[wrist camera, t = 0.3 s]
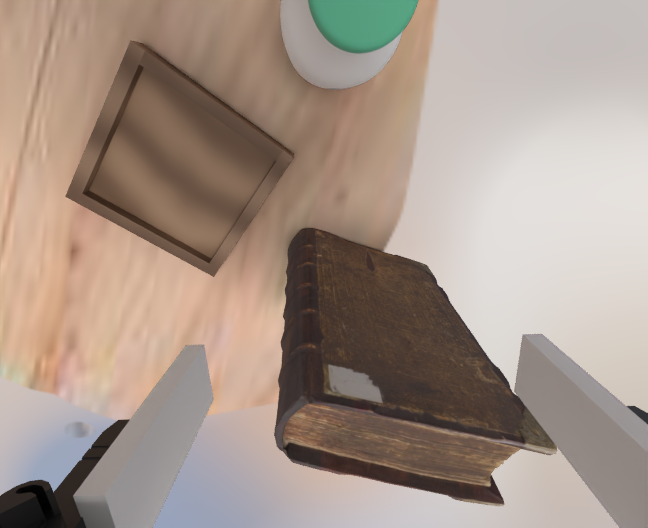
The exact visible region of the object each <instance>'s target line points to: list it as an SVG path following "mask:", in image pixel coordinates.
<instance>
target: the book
mask: <svg viewBox="0 0 648 528" xmlns="http://www.w3.org/2000/svg"><path fill="white" fill-rule="evenodd" d="M286 274H287V285H286V288H285V294H286V305H285V309H284V314H283V318H284V320H285V327H284V333H283V336H282V339H281V347H282V350H283V352H282V368H281V370H280V375H279V379H278V383H279V387H280V391H279V401H278V411H277V420H276V427H275V433H274V436H275V439H276V444H277V447H278V448H279V449H280V450H281V451H283V452H284V453H285V454H286V456H287V457H288V458H289V459H290V460H291V461H292V462H293V463H296V464H300V465H303V466H308V467H311V468H315V469H319V470H324V471H329V472H332V473H336V474H344V475H354V476H359V477H363V478H368V479H372V480H376V481H381V482H384V483H389V484H394V485H399V486H404V487H409V488H414V489H419V490H425V491H430V492H434V493H439V494H443V495H448V496H449V497H452V498H453V499H455V500H460V501H465V502H472V503H479V504H485V505H495V506H503V505H504V501H503V498H502V496H501V494H500V492H499V490H498V488H497V486H496V484H495V482H494V480H493V478H492V475H491V473H492V472H493V471H494V469H495V468H497V467H499V466H500V465H501V464H503V461H504V460H507V459H508V458H509V457H510V456H511V455H512V454H514V453H515V452H517V451H519V450H520V449H525V450H529V451H533V452H538V453H542V454H546V455H552V454H556V452H557V446H556V445H555V443H554V442H553V441H552V439H551V438H550V437H549V436H548V434H547V433H546V432H545V430H544V429H543V428H542V427H541V425H540V424H539V423H538V421H537V420H536V419H535V417H534V416H533V415H532V414H531V412H530V411H529V410H528V408H527V407H526V406H525V405H524V403H523V402H522V401H521V399H520V398H519V397H518V396H516V395H515V394H514V393H513V392H512V390H511V389H510V385H509V382H508V381H507V379H506V378H505V376H504V375H503V373H502V372H501V371H500V369H499V368H498V367H496V366H495V365H494V364H493V363H492V362H491V360H490V359H489V358H488V356H487V355H486V353H485V352H484V351H483V349H482V348H481V346H480V345H479V343H478V342H477V340H476V339H475V337H474V336H473V335H472V333H471V332H470V330H469V329H468V328H467V326H466V325H465V323H464V321H463V320H462V319H461V317H460V316H459V314H458V313H457V312H456V310H455V309H454V307H453V306H452V304H451V303H450V301H449V299H448V296H447V294H446V293H445V291H443V289H442V288H441V287H439V286H438V285H437V281H436V278H435V277H434V275H433V274H432V272H431V271H430V269H429V268H428V266H427V265H425V264H422V263H420V262H417V261H413V260H411V259H407V258H404V257H401V256H398V255H392V254H388V253H385V252H381V251H377V250H374V249H370V248H367V247H364V246H361V245H358V244H355V243H352V242H349V241H346V240H343V239H341V238H339V237H338V236H336V235H333V234H330V233H328V232H325V231H321V230H317V229H313V228H311V229H303V230H301V231H300V232H299V233H298V234H297V235H296V237H295V238H294V239H293V241H292V243H291V244H290V247H289V249H288V266H287V271H286Z"/></svg>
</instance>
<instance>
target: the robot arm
mask: <svg viewBox="0 0 648 528" xmlns="http://www.w3.org/2000/svg"><path fill="white" fill-rule="evenodd" d="M514 391H515V393H516V394H517V395H518V397H519V398H520V399H521V401H522V402H523V403H524V404H525V406H526V407H527V408H528V410H529V411H530V412H531V414H532V415H533V416H534V417H535V419H536V420H537V421H538V423H539V424H540V425H541V427H542V428H543V429H544V430H545V432H546V433H547V434H548V436H549V437H550V438H551V439H552V441H553V442H554V443H555V445H556V446H557V447H558V449H559V450H560V451H561V452H562V454H563V455H564V456H565V458H566V459H567V460H568V461H569V463H570V464H571V465H572V467H573V468H574V469H575V471H576V472H577V473H578V474H579V476H580V477H581V478H582V480H583V481H584V482H585V484H586V485H587V486H588V487H589V489H590V490H591V491H592V493H593V494H594V495H595V496H596V498H597V499H598V500H599V502H600V503H601V504H602V506H603V507H604V508H605V509H606V510H607V512H608V513H609V515H610V516H611V517H612V518H613V520H614V521H615V522H616V524H617V525H618V526H619V528H648V413H646V412H644V411H642V410H640V409H639V408H637V407H635V406H625V405H624V404H623V403H622V402H621V401H620V400H618V399H617V398H616V397H615V396H614V395H613V394H611V393H610V392H609V391H608V390H607V389H606V388H604V387H603V386H602V385H601V384H600V383H598V382H597V381H596V380H595V379H594V378H593V377H592V376H590V375H589V374H588V373H587V372H586V371H584V370H583V369H582V368H581V367H580V366H579V365H577V364H576V363H575V362H574V361H573V360H572V359H571V358H569V357H568V356H567V355H566V354H565V353H563V352H562V351H561V350H560V349H559V348H558V347H557V346H555V345H554V344H553V343H552V342H551V341H549V340H548V339H547V338H546V337H545V336H544V335H543V334H525V335H523V336H522V343H521V350H520V357H519V363H518V370H517V376H516V383H515V390H514ZM212 401H213V393H212V387H211V382H210V376H209V370H208V364H207V359H206V353H205V347H204V345H186V346H185V347H184V348H183V350H182V351H181V352H180V354H179V355H178V357H177V358H176V359H175V361H174V362H173V363H172V365H171V366H170V367H169V369H168V370H167V371H166V373H165V374H164V375H163V377H162V378H161V379H160V381H159V382H158V383H157V385H156V386H155V387H154V389H153V390H152V391H151V393H150V394H149V395H148V397H147V398H146V399H145V401H144V402H143V403H142V405H141V406H140V407H139V409H138V410H137V411H136V413H135V414H134V415H133V417H132V418H131V419H130V420H118V421H117V422H115V423H114V424H113V425H111V426H110V427H109V428H107V429H106V430H105V431H104V432H102V434H101V435H100V436H99V437H98V439H97V440H96V441H95V442H94V444H93V445H92V447H91V449H89V450H88V451H87V452H86V453H85V455H84V456H83V457H82V460H81V461H79V462H78V463H77V465H76V466H75V467H74V468H73V469H72V471H71V472H70V473H69V474H68V475H67V477H66V478H65V479H64V480H63V482H62V483H61V484H60V485H59V487H58V488H57V489H56V490H55V491H54V493H53V490H52V488H51V486H50V484H49V482H46V481H43V480H35V481H29V482H26V483H24V484H21V485H18V486H16V487H14V488H12V489H11V490H9V491H7V492H5V493H4V494H2V495H1V496H0V528H153V526H154V524H155V522H156V520H157V518H158V515H159V513H160V511H161V509H162V507H163V505H164V503H165V501H166V499H167V497H168V495H169V492H170V490H171V488H172V486H173V484H174V482H175V479H176V478H177V475H178V473H179V471H180V469H181V467H182V465H183V463H184V461H185V458H186V456H187V454H188V452H189V450H190V448H191V446H192V444H193V442H194V439H195V437H196V435H197V433H198V431H199V429H200V427H201V425H202V423H203V420H204V418H205V416H206V414H207V412H208V410H209V408H210V406H211V404H212Z"/></svg>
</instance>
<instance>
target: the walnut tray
mask: <svg viewBox="0 0 648 528" xmlns="http://www.w3.org/2000/svg"><path fill="white" fill-rule="evenodd" d="M293 158H294V153H292V152H291V151H290V150H288V149H287V148H285V147H284V146H283V145H281V144H280V143H279V142H277V141H276V140H274V139H273V138H272V137H270V136H269V135H268V134H266V133H265V132H263V131H262V130H261V129H259V128H258V127H257V126H255V125H254V124H252V123H251V122H250V121H248V120H247V119H246V118H244V117H243V116H241V115H240V114H239V113H237V112H236V111H235V110H233V109H232V108H230V107H229V106H228V105H226V104H225V103H224V102H222V101H221V100H219V99H218V98H217V97H215V96H214V95H213V94H211V93H210V92H208V91H207V90H206V89H204V88H203V87H202V86H200V85H199V84H197V83H196V82H195V81H193V80H192V79H191V78H189V77H188V76H186V75H185V74H184V73H182V72H181V71H180V70H178V69H177V68H175V67H174V66H173V65H171V64H170V63H169V62H167V61H166V60H164V59H163V58H162V57H160V56H159V55H158V54H156V53H155V52H153V51H152V50H151V49H149V48H148V47H147V46H145V45H144V44H142V43H138V42H134V41H130V44H129V46H128V48H127V51H126V53H125V56H124V58H123V60H122V63H121V65H120V68H119V70H118V72H117V75H116V77H115V79H114V82H113V84H112V87H111V89H110V91H109V94H108V96H107V99H106V101H105V103H104V106H103V108H102V110H101V113H100V115H99V118H98V120H97V122H96V125H95V127H94V130H93V132H92V134H91V137H90V139H89V141H88V144H87V146H86V149H85V151H84V153H83V156H82V158H81V161H80V163H79V165H78V168H77V170H76V172H75V175H74V177H73V180H72V182H71V184H70V187H69V189H68V192H67V194H66V196H65V197H67V198H69V199H71V200H73V201H75V202H76V203H78V204H80V205H82V206H84V207H86V208H87V209H89V210H91V211H93V212H95V213H97V214H99V215H100V216H102V217H104V218H106V219H108V220H110V221H112V222H113V223H115V224H117V225H119V226H121V227H123V228H124V229H126V230H128V231H130V232H132V233H134V234H136V235H137V236H139V237H141V238H143V239H145V240H147V241H149V242H150V243H152V244H154V245H156V246H158V247H160V248H161V249H163V250H165V251H167V252H169V253H171V254H173V255H174V256H176V257H178V258H180V259H182V260H184V261H186V262H187V263H189V264H191V265H193V266H195V267H197V268H198V269H200V270H202V271H204V272H206V273H208V274H210V275H211V276H213V277H214V276H215V274H216V273H217V271H218V270H219V268H220V267H221V265H222V264H223V262H224V261H225V259H226V258H227V256H228V255H229V253H230V252H231V250H232V249H233V247H234V246H235V244H236V243H237V241H238V240H239V238H240V237H241V236H242V234H243V233H244V231H245V230H246V228H247V227H248V225H249V224H250V222H251V221H252V219H253V218H254V216H255V215H256V213H257V212H258V210H259V209H260V207H261V206H262V204H263V203H264V201H265V200H266V198H267V197H268V195H269V194H270V192H271V191H272V189H273V188H274V186H275V185H276V183H277V182H278V180H279V179H280V177H281V176H282V174H283V173H284V171H285V170H286V169H287V167H288V166H289V164H290V163H291V161H292V160H293Z"/></svg>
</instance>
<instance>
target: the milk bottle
mask: <svg viewBox="0 0 648 528" xmlns="http://www.w3.org/2000/svg"><path fill="white" fill-rule="evenodd" d="M417 3H418V0H281V8H280V22H281V32H282V37H283V41H284V45H285V48H286V51H287V54H288V56H289V59H290V61H291V63H292V65H293V67H294V68H295V70H296V71H297V72H298V73H299V75H300V76H301V77H302V78H304V79H305V80H306V81H307V82H309V83H311V84H313V85H315V86H317V87H321V88H326V89H346V88H351V87H354V86H358V85H360V84H363V83H365V82H367V81H368V80H370V79H371V78H373V77H374V76H375V75H377V74H378V73H379V72H380V71H381V70H382V69H383V68H384V66H385V65H386V64H387V63H388V62H389V60H390V59H391V57H392V56H393V54H394V52H395V50H396V48H397V46H398V44H399V41H400V39H401V35H402V32H403V30H404V29H405V27H406V26H407V24H408V23H409V21H410V20H411V18H412V16H413V14H414V11H415V9H416V6H417Z"/></svg>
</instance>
